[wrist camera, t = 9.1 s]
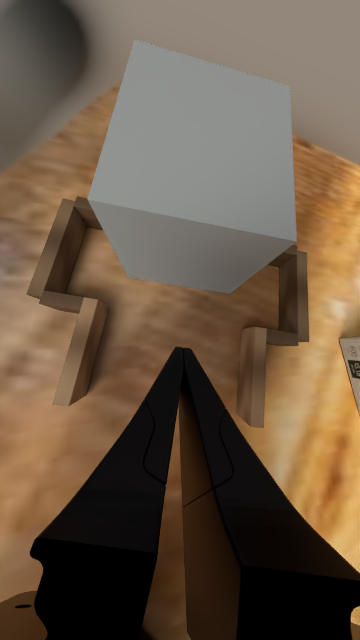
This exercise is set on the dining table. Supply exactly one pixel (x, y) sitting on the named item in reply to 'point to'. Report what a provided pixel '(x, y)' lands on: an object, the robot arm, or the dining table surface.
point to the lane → (92, 312)
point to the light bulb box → (352, 363)
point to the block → (196, 172)
